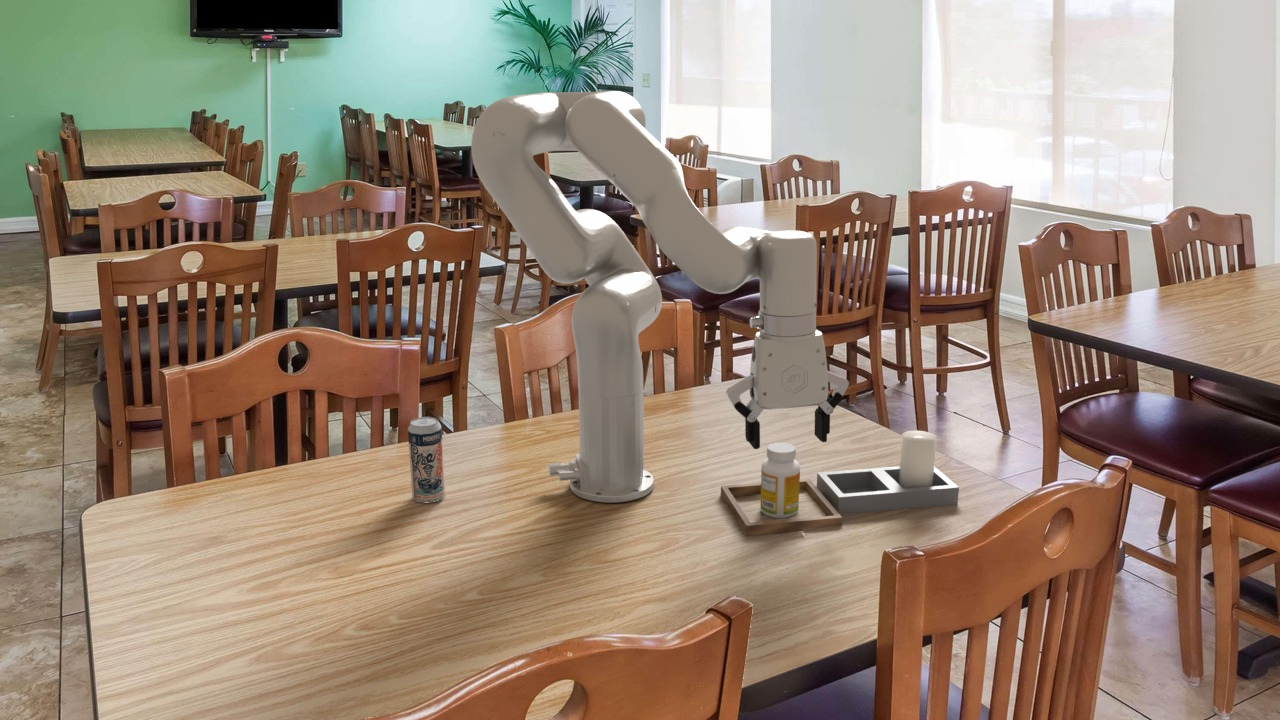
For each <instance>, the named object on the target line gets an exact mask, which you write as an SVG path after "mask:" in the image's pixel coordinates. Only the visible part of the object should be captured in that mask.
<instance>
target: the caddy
mask: <svg viewBox="0 0 1280 720" xmlns="http://www.w3.org/2000/svg"><path fill="white" fill-rule="evenodd" d="M899 472H900V465H899V466H896V465H895V466H884V467H873V468H872V467H871V468H862V469H861V468H858V469H847V470H846V469H845V470H836V471H835V470H834V471H832V470H831V471H822V472H817V474H816V475H817V476H816V487H817V488H818V490H819V491H820V492H821V493H822V494H823V495H824V497H825V498H826V499H827V500H828V501H829V502H830V504H831V505H832V506H833V507H834V508H835V509H836V511H837V512H838V513H839V514H840V515H847V514H848V515H849V514H860V513H861V514H862V513H873V512H874V513H875V512H883V511H884V512H885V511H886V512H887V511H894V510H895V511H896V510H907V509H908V510H909V509H918V508H920V509H921V508H930V507H931V508H933V507H941V506H942V507H943V506H954V505H956V506H957V505H959V504H958V502H959V491H960V489H959V488H960V486H958V485H957V484H956V483H955V482H953V481H952V480H951V479H950V478H949V477H948V476H947V475H945V474H944V473H943V472H942V471H941V470H939V468H937V467H936V466H935V465H934V473H933V486H932V487H920V488H908V489H903V488H902V487H901V486H900V485H899Z"/></svg>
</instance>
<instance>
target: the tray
mask: <svg viewBox="0 0 1280 720" xmlns="http://www.w3.org/2000/svg"><path fill="white" fill-rule="evenodd" d="M804 489H805V490H806V491H807V492H808V494H810V496H811V497H812V498H813V499H814V500H815V501H816V503H817V504H818V505H819V507H821V509H822V510H823V512H824V513H826V515H825V516H814V517H813V516H812V517H802V518H801V517H800V518H790V519H779V520H778V519H777V520H767V521H755V522H751V521H750V520H749V518H748V516H747V515H746V513H745V512H744V510H743V509H742V507H741V506H740V504H739V503H738V501H737V500H736V498H735V497H744V496H745V497H746V496H759V495H760V496H761V482H756V483H755V482H754V483H753V482H752V483H742V484H731V485H721V486H720V496H721V498H722V500H723V501H724V503H725V504H726V506H727V508H728V509H729V511H730V512H731V514H732V515H733V518H734V519H735V520H736V521H737V523H738V525H739V526H740V528H741V529H742V532H743V533H744V535H745V536H747V537H748V536H749V537H750V536H760V535H761V536H762V535H770V534H771V535H773V534H782V533H783V534H784V533H793V532H803V531H804V530H803V529H812V528H813V529H814V528H824V527H825V528H826V527H834V526H835V527H836V526H837V527H838V526H843V516H842V514H839V513H838V512H837V511H836V509H835V508H834V507H833V506H832V505H831V504H830V502H829V501H828V500H827V499H826V498H825V497H824V495H823V494H822V493H821V492H820V491H819V490H818V488H817V485H815V484H814V483H813V481H812V480H811V479H810V478H806V479H805V478H804V479H800V483H799V490H804Z"/></svg>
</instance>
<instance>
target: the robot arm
mask: <svg viewBox="0 0 1280 720" xmlns="http://www.w3.org/2000/svg"><path fill="white" fill-rule="evenodd" d="M645 116H646V115H645V112H644V110H643V108H642V106H641V105H640V103H639V102H638V101H637V100H636V98H634V96H632V95H630V94H628V93H626V92H623V91H620V90H607V91H606V90H605V91H573V92H572V91H569V92H566V91H565V92H563V91H562V92H558V91H554V92H551V91H550V92H536V93H527V94H517V95H511V96H505V97H503V98H500V99H497V100H496V101H494V102H492V103H491V104H489V105H488V106H487V107H486V108H485V109H484V110H483V111H482V112H481V114H480V116H479V117H478V118H477V120H476V123H475V125H474V128H473V131H472V137H471V144H470V145H471V146H470V147H471V148H470V150H471V159H472V163H473V166H474V169H475V172H476V174H477V176H478V178H479V180H480V182H481V183H482V185H483V187H484V188H485V189H486V191H487V192H488V194H489V195H490V196H491V198H492V199H493V200H494V202H495V203H496V204H497V205H498V207H499V208H500V210H501V211H502V212H503V213H504V215H505V216H506V218H507V219H508V221H509V222H510V223H511V225H512V227H513V229H514V230H515V232H516V233H517V234H518V236H519V238H521V240H522V242H523V243H524V244H525V246H526V248H527V249H528V251H529V252H530V253H531V254H532V256H533V258H535V261H536V262H537V263H538V265H539V266H540V268H541V270H543V272H544V273H545V275H547V277H548V278H550V279H551V280H552V281H554V282H555V283H559V284H563V285H564V284H565V285H568V284H574V283H577V282H579V281H582V280H585V281H586V284H587V285H588V286H587V288H585V289H584V290H583V292H581V293H580V294H579V296H578V298H576V301H575V303H574V305H573V307H572V312H571V321H570V322H571V330H572V332H571V333H572V335H573V336H572V337H573V342H574V346H575V353H576V365H577V368H576V369H577V388H578V389H577V390H578V423H579V424H578V425H579V429H578V431H579V433H578V434H579V453H576V454H575V459H571V460H569V462H564V463H563V462H562V463H561V462H554V463H548V474H549V475H548V476H549V477H558V480H559V481H560V482H562V481H569V489H570V491H571V492H572V493H573V494H575V495H576V496H577V497H579V498H581V499H584V500H587V501H591V502H596V503H605V504H606V503H607V504H608V503H611V504H615V503H625V502H630V501H635V500H638V499H641V498H643V497H645V496H647V495H648V494H649V493H651V492H653V490H654V487H655V478H654V475H653V474H652V473H650V472H649V471H648V470H646V469H645V467H644V465H645V464H644V461H645V458H644V455H645V454H644V452H645V451H644V450H645V449H644V445H645V444H644V443H645V441H644V440H645V439H644V438H645V437H644V433H645V432H644V426H645V425H644V424H645V423H644V422H645V421H644V415H645V414H644V407H645V404H644V402H645V401H644V400H645V399H644V398H645V397H644V368H643V359H642V354H641V349H640V343H639V334H641V332H642V331H644V330H646V328H648V327H649V326H651V324H653V323H654V322H655V320H656V319H657V318H658V317H659V315H660V313H661V310H662V306H663V295H662V291H661V288H660V285H659V283H658V281H657V279H656V277H655V276H654V274H653V273H652V271H651V270H650V269H649V267H648V265H647V263H645V261H644V260H643V258H642V257H641V255H640V254H639V252H638V251H637V250H636V248H635V247H634V245H633V244H632V242H631V241H630V240H629V238H628V237H627V235H626V233H624V231H623V229H622V228H621V227H620V226H619V224H618V223H616V221H615V220H613V219H612V218H611V217H610V216H608V214H606V213H604V212H602V211H600V210H597V209H593V208H583V209H582V208H581V209H578V210H576V209H575V208H574V207H573V206H572V205H571V203H570V202H569V201H568V199H567V198H566V197H565V194H564V193H563V192H562V191H561V189H560V187H559V186H558V184H557V183H556V182H555V181H554V180H553V179H552V177H551V176H550V175H548V174H547V173H546V172H545V171H544V170H543V169H542V168H541V167H540V166H539V164H537V163H536V162H535V159H534V156H536V155H540V154H545V153H549V152H556V151H557V152H558V151H559V152H560V151H561V152H563V151H568V152H569V151H571V152H572V151H575V152H576V151H577V152H578V153H579V154H580V155H581V156H583V158H585V159H586V160H587V162H589V163H590V164H591V165H592V166H593V167H594V169H596V170H597V171H598V172H599V173H600V174H602V175H603V177H604V178H606V179H607V180H608V181H609V182H610V183H611V184H612V185H613V186H614V187H615V188H616V190H618V191H619V192H620V193H621V194H622V195H623V196H624V197H625V198H626V199H627V200H628V201H629V202H630V203H631V204H632V205H633V206H634V207H635V208H636V210H637V211H638V214H639V215H640V218H641V221H642V222H643V224H644V225H645V227H646V229H647V230H648V232H649V234H650V235H651V237H652V239H653V240H654V241H655V243H656V244H657V246H658V247H659V249H660V250H661V251H662V252H663V253H664V255H665V256H666V257H667V258H668V259H669V260H670V261H671V262H672V263H673V264H674V265H675V266H676V267H677V268H678V269H680V270H681V272H683V274H685V275H686V276H687V277H688V278H689V279H690V280H691V281H692V282H693V283H694V284H696V285H697V286H699V287H700V288H701V289H703V290H705V291H707V292H709V293H712V294H717V295H723V294H724V295H725V294H729V293H732V292H734V291H736V290H738V289H739V288H740V287H741V286H743V285H744V284H745V283H747V282H751V281H753V280H755V279H758V280H759V310H758V313H757V316H754V317H750V318H749V326H750V328H756V329H759V331H757V332H756V333H755V335H754V340H753V345H752V351H751V358H750V367H749V368H750V369H749V375H748V376H746V377H745V378H743V379H741V380H739V381H738V382H736V383H735V384H734V385H732V386H729V387H728V388H727V389H726V390H725V395H726V397H727V398H728V399H729V401H730V403H731V405H732V407H733V408H734V409H735V410H736V411H737V413H739V414H740V415H741V416H742V417H743V418H744V420H745V432H744V433H745V440H746V441H747V442H748V443H749V444H750V446H751V447H752V448H753V449H754V450H758V449H760V448H761V424H760V421H759V420H758V417H759V416H760V415H761V413H762V412H764V410H770V411H771V410H784V409H795V408H802V407H803V408H804V407H813V406H817V408H815V410H814V436H815V437H816V439H818V440H819V441H820V442H821V443H827V441H828V435H829V434H830V432H831V428H830V427H831V415H832V414H833V413H834V411H835V408H836V407H837V406H838V405H839V404H840V403H841V402H842V400H843V396H844V394H846V391H847V389H848V387H849V385H850V381H849V380H848V379H846V378H845V377H843V376H841V375H838V374H836V373H834V372H831V371H829V370H828V362H827V355H826V353H827V352H826V347H825V341H824V336H823V333H822V331H820V330H818V329H817V267H818V266H817V263H818V262H817V261H818V260H817V259H818V258H817V257H818V256H817V255H818V253H817V252H818V250H817V248H818V246H817V240H816V238H815V236H814V235H813V234H811V233H810V232H806V231H803V230H793V229H792V230H791V229H790V230H789V229H788V230H785V229H784V230H776V231H771V230H763V229H758V228H753V227H748V226H747V227H746V226H730V227H728V228H726V229H725V228H724V230H722V231H720V230H719V229H718V228H717V227H716V226H715V225H714V224H712V222H711V221H709V220H708V218H706V216H705V215H704V214H703V213H702V211H700V209H698V207H697V206H696V204H695V203H694V202H693V199H691V197H690V195H689V192H688V190H687V188H686V183H685V177H684V170H683V168H682V167H683V166H682V165H681V163H680V161H679V160H678V159H677V158H676V157H675V156H674V155H673V154H672V153H671V152H670V151H669V150H668V149H667V148H666V147H665V146H664V145H662V144H661V143H660V141H658V139H656V138H655V137H654V136H653V135H652V134H651V133H650V132H649V131H648V130H647V129H646V117H645ZM829 383H831V384H832V385H834V387H833V390H832V391H830V393H829ZM748 390H749V395H750V398H751V399H750V400H749V401H748V403H746V404H744V403H743V402H742V400H741V398H740V396H741V395H742V394H744V393H745V392H747V391H748Z"/></svg>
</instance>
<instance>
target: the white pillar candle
mask: <svg viewBox="0 0 1280 720" xmlns="http://www.w3.org/2000/svg"><path fill="white" fill-rule="evenodd" d="M900 444H901V446H900V460H899V461H900V462H899V466H900V472H899V485H900V486H901V487H902V488H903V489H908V488H920V487H932V486H933V473H934V466H935V458H936V447H937V436H936V434H934V433H931V432H929V431H925V430H907V431H905V432H903V433H902V434H901V443H900Z"/></svg>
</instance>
